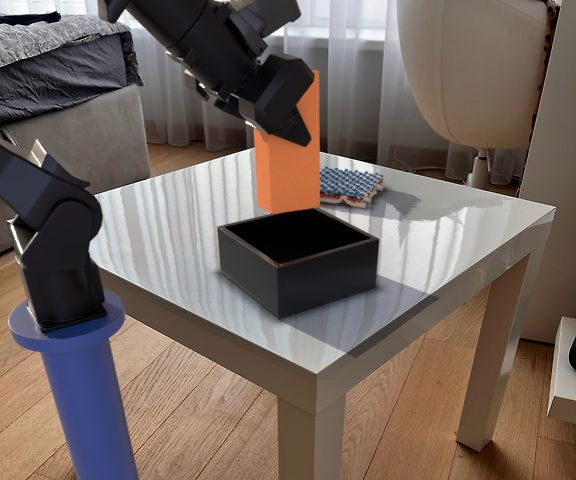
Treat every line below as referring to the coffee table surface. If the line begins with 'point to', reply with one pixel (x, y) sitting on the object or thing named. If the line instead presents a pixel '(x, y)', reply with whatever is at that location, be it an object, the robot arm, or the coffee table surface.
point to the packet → (290, 163)
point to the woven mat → (349, 186)
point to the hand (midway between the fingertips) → (298, 137)
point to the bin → (297, 259)
